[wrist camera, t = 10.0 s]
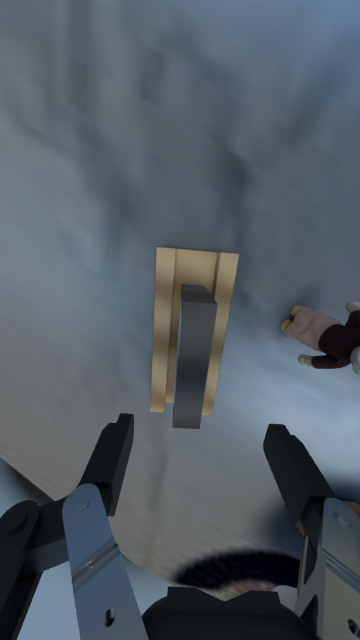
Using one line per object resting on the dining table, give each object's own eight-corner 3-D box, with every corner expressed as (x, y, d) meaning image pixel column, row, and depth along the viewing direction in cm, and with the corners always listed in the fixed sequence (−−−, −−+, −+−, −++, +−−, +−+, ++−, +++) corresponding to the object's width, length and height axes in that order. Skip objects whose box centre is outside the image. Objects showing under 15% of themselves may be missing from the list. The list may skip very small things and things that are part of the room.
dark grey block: (181, 284, 22) (183, 301, 14) (204, 285, 22) (218, 304, 14) (173, 375, 26) (172, 427, 18) (193, 377, 26) (199, 428, 18)
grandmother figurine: (296, 346, 27) (391, 424, 15) (270, 339, 26) (347, 412, 14) (326, 293, 24) (469, 335, 12) (299, 284, 24) (419, 317, 12)
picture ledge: (160, 247, 22) (156, 247, 19) (229, 253, 23) (239, 254, 19) (153, 391, 29) (150, 411, 25) (207, 395, 29) (211, 415, 26)
